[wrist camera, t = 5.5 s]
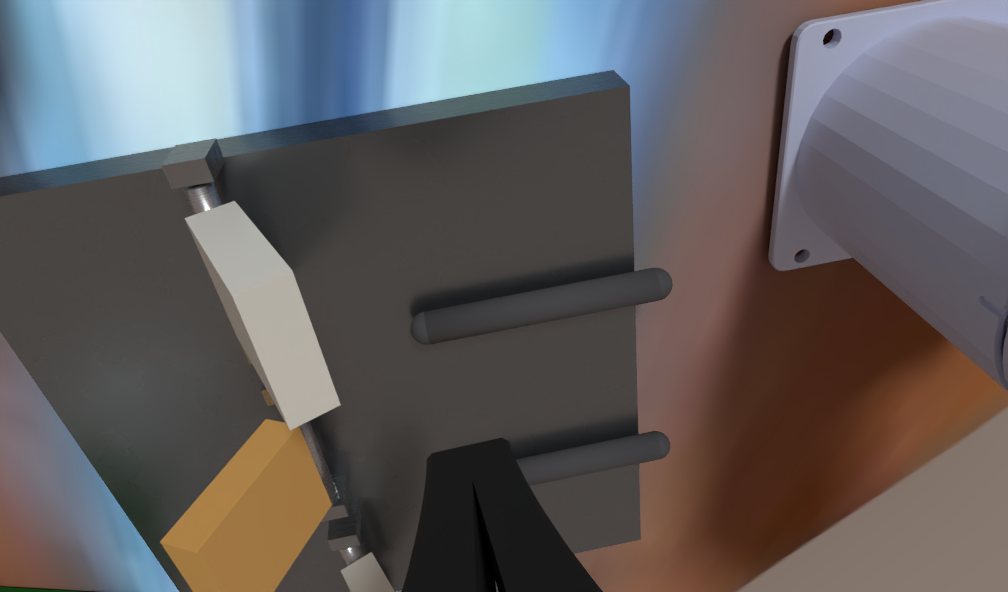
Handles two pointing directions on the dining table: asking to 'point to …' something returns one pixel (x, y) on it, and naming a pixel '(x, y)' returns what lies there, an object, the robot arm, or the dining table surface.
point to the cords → (545, 309)
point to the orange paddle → (251, 516)
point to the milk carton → (31, 590)
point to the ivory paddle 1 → (265, 312)
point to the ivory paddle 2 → (366, 576)
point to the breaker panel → (342, 309)
